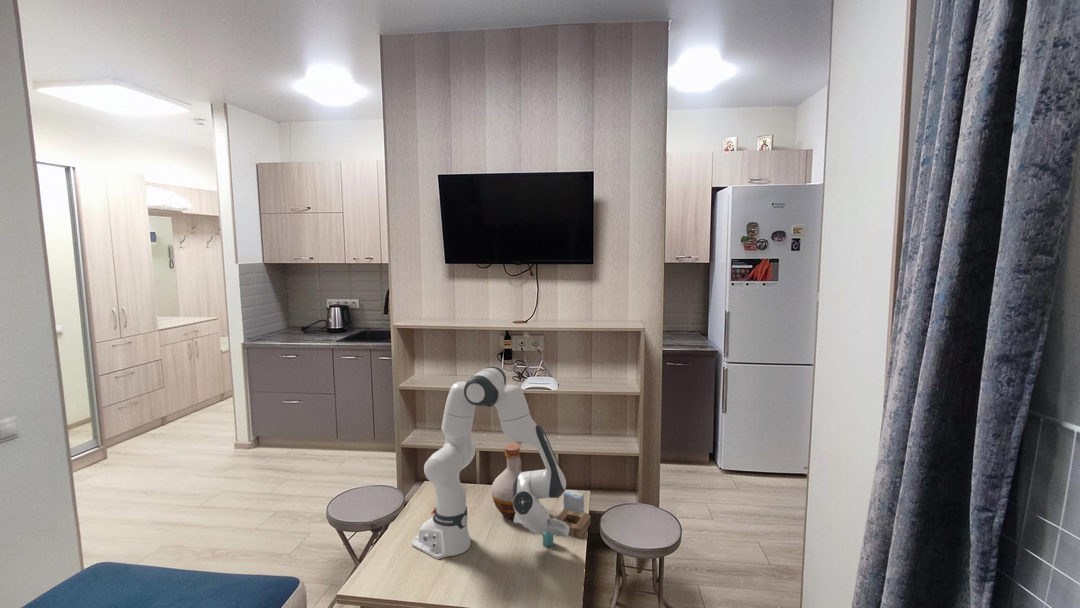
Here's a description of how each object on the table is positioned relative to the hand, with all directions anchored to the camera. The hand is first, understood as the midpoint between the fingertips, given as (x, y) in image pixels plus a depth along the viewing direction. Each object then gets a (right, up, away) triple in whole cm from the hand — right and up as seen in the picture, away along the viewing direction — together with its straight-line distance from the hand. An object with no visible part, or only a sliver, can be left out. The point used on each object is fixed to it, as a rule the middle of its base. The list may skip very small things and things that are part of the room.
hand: (547, 530), depth 179 cm
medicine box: (+12, -4, +25) cm, 28 cm away
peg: (0, -6, +1) cm, 6 cm away
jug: (-15, -4, +24) cm, 29 cm away
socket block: (+10, -5, +13) cm, 17 cm away
